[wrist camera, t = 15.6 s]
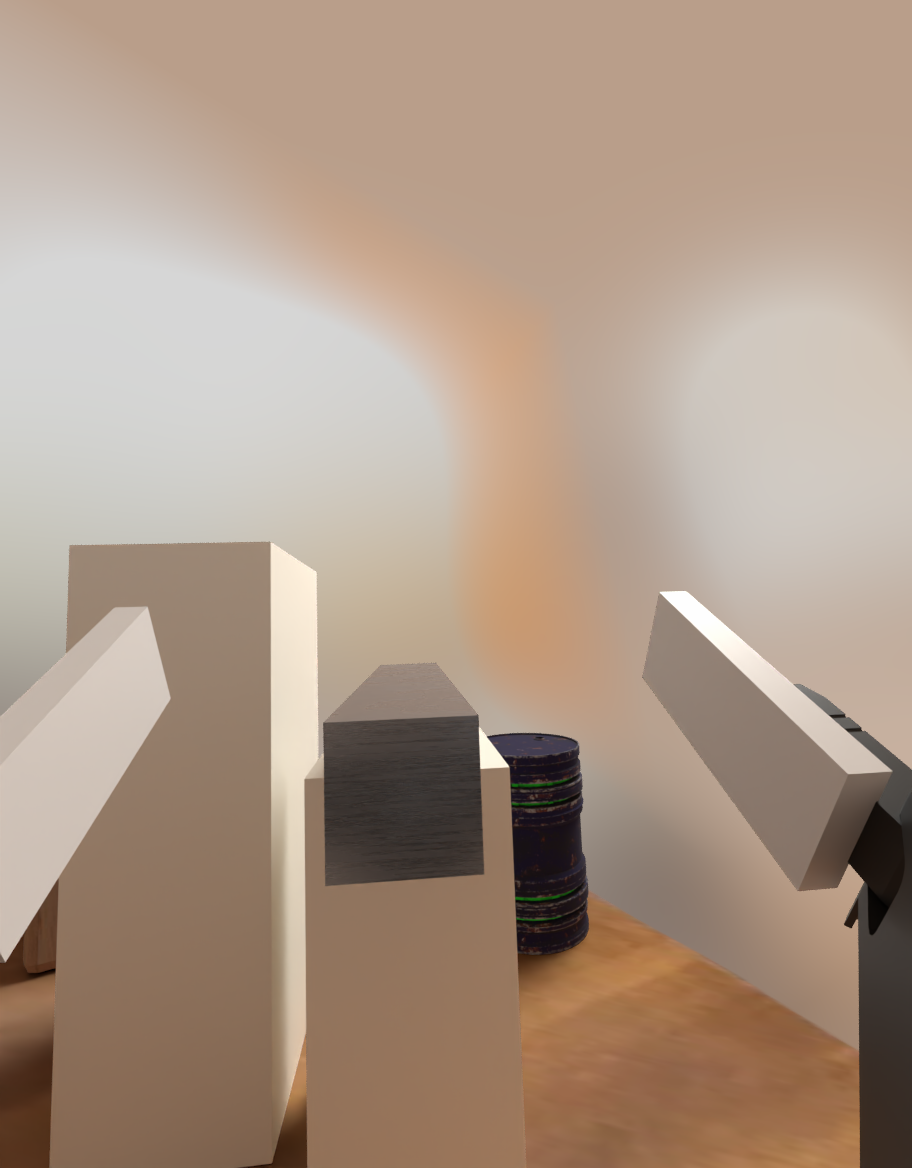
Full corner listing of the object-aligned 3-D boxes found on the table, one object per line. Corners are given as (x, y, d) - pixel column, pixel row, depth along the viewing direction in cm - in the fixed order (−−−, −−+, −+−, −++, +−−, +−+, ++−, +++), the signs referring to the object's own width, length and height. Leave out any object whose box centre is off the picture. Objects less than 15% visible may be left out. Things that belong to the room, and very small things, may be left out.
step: (308, 1350, 19) (304, 779, 20) (347, 1071, 31) (342, 725, 32) (532, 1315, 19) (509, 766, 21) (485, 1056, 31) (473, 719, 33)
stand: (48, 1190, 24) (69, 545, 27) (179, 988, 38) (184, 575, 41) (271, 1163, 25) (270, 541, 28) (320, 975, 39) (316, 572, 42)
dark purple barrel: (555, 971, 39) (545, 762, 40) (450, 929, 45) (444, 748, 46) (608, 912, 47) (599, 738, 48) (513, 883, 53) (507, 729, 54)
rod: (324, 886, 12) (323, 722, 12) (381, 721, 33) (380, 665, 34) (484, 874, 12) (478, 715, 12) (437, 718, 34) (435, 662, 34)
